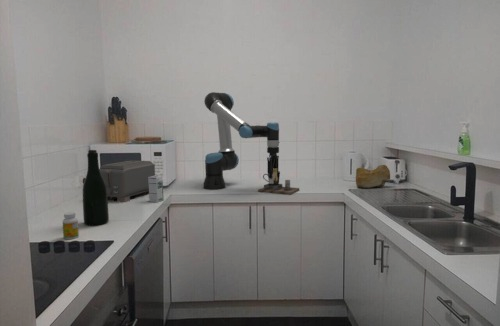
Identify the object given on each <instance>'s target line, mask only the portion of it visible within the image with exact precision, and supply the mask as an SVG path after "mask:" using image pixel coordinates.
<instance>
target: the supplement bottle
mask: <svg viewBox="0 0 500 326" xmlns="http://www.w3.org/2000/svg"><path fill="white" fill-rule="evenodd" d="M63 218H64V219H62V230H63V231H62V234H63V239H65V240H75V239H77V238H78V237H79V235H80V234H79V232H80V231H79V220H78V218H77V217H76V212H75V211H73V212H72V211H70V212H65V213H64V214H63Z"/></svg>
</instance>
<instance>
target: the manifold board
mask: <svg viewBox="0 0 500 326" xmlns="http://www.w3.org/2000/svg"><path fill="white" fill-rule="evenodd" d="M299 191H300V187H291V180H290V179H285V180H284V186H283V184H282V183H279V184H274V185H272V184H269V182H267V183H266V184H263V187H261V188H259V189H257V193H264V194H265V193H266V194H267V193H268V194H275V195H277V194H278V195H287V196H291V195H293V194H295V193H297V192H299Z"/></svg>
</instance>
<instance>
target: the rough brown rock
mask: <svg viewBox="0 0 500 326" xmlns="http://www.w3.org/2000/svg"><path fill="white" fill-rule="evenodd" d="M389 180H391V171H390V168H389V167H388V166H387V165H386V164H381V165H378V166H377V167H376V168H374V169H371V170H369V169H367V168H365V167H357V168H356V170H355V184H356V186H357V188H360V189H364V188H366V189H370V188H371V189H372V188H374V187H377V188H384V186H385V184H386V183H387V182H388V181H389Z"/></svg>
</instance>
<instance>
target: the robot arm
mask: <svg viewBox="0 0 500 326" xmlns="http://www.w3.org/2000/svg"><path fill="white" fill-rule="evenodd" d="M203 102H204V106H205V108H207V110H209V112H211V113H213V114H215V115H216V118H217V119H216V120H217V129H218V137H219V138H218V140H219V141H218V142H219V150H218V151H217V152H211V153H210V152H209V153H208V154H206V155H205V156H204V157H205V159H204V162H205V163H204V164H205V166H204V167H205V178H204V181H203V184H202V187H203V189H205V190H222V189H225V188H226V181H225V178H224V171H230V170H233V169H236V168H237V166H238V165H239V156H238V155H237V153H236V151H235V149H234V148H233V140H232V133H231V132H232V131H231V127H232V128H234V129H235V130H236V131H237V132H238V134H239V137H240V138H242V139H252V138H254V139H255V138H256V139H257V138H266V145H267V146H266V152H267V154H268V156H267V157H266V159H267V174H268V173H269V179H268V181H269V182H268V183H270V184H274V173H273V168H277V172H278V171H279V159H280V157H279V155H278V154H279V153H280V126H279V122H267V123H266V125H250V124H249V123H247V122H246V121H245V120H243V119H242V118H241V117H240V116H238V115H237V114H236V113H234V112H233V111H232V108H233V107H234V99H233V97H232V95H230V93H225V92H209V93H208V94H206V96H205V98H204V101H203Z"/></svg>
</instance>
